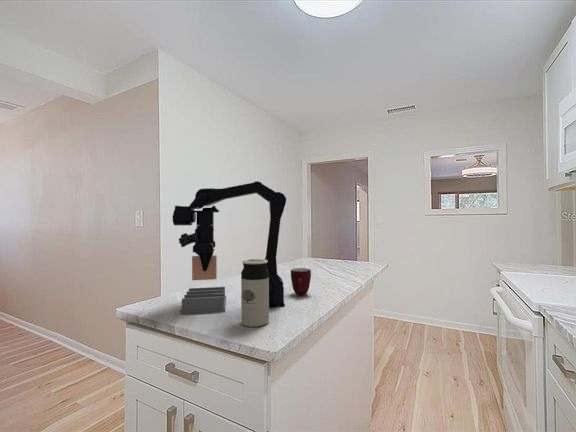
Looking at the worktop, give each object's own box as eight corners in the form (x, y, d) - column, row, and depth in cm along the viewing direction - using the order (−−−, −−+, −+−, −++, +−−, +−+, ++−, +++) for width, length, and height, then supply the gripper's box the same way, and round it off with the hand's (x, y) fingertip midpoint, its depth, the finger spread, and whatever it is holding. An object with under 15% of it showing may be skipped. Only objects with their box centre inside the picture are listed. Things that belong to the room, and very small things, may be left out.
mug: (312, 299, 109) (312, 272, 109) (291, 299, 109) (291, 272, 109) (310, 292, 120) (309, 268, 120) (290, 292, 120) (290, 268, 120)
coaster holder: (226, 298, 110) (226, 286, 110) (224, 311, 94) (224, 297, 94) (187, 300, 107) (187, 288, 108) (179, 314, 92) (179, 299, 92)
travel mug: (255, 316, 90) (255, 258, 90) (274, 321, 85) (274, 260, 85) (235, 323, 84) (235, 261, 84) (254, 329, 79) (254, 263, 79)
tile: (216, 277, 102) (216, 255, 102) (216, 279, 100) (216, 256, 100) (193, 279, 100) (193, 255, 101) (192, 280, 98) (192, 256, 98)
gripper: (184, 225, 108) (184, 267, 108) (175, 226, 90) (175, 276, 89) (215, 224, 110) (215, 266, 110) (212, 225, 92) (212, 275, 92)
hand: (205, 270), depth 100 cm, fingers closed on tile, 2 cm apart
